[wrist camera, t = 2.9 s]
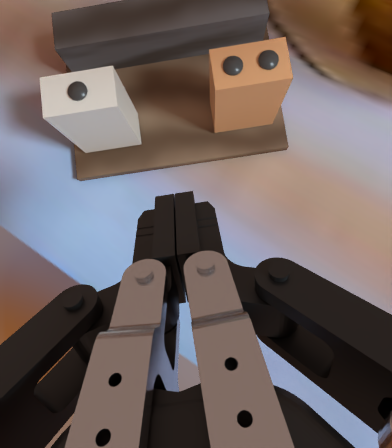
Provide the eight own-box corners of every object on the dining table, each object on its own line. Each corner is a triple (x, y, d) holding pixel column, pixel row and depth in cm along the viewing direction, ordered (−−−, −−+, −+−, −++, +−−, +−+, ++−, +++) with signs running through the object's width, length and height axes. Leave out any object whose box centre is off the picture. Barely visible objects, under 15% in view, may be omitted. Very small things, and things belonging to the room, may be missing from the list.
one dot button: (141, 144, 37) (116, 105, 27) (85, 152, 37) (41, 117, 28) (137, 113, 38) (112, 64, 28) (82, 122, 38) (38, 76, 28)
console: (286, 149, 37) (300, 129, 31) (80, 181, 38) (56, 167, 32) (262, 17, 39) (271, -26, 33) (68, 50, 40) (43, 14, 34)
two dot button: (272, 124, 36) (293, 76, 27) (214, 133, 37) (215, 89, 27) (266, 92, 37) (286, 35, 27) (209, 102, 37) (208, 48, 28)
